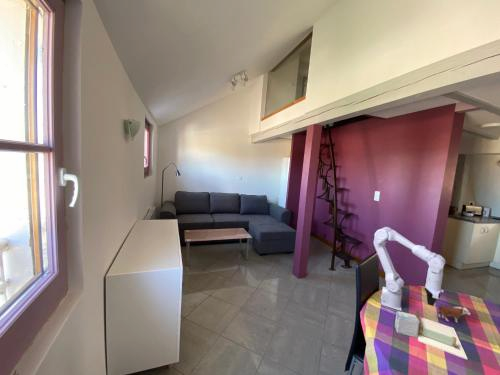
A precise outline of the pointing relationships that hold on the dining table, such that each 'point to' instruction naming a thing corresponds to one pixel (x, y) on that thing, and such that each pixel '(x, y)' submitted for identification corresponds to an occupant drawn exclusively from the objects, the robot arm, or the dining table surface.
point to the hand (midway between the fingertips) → (430, 304)
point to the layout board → (437, 344)
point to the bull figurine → (452, 312)
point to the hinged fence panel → (437, 336)
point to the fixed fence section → (418, 316)
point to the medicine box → (406, 324)
